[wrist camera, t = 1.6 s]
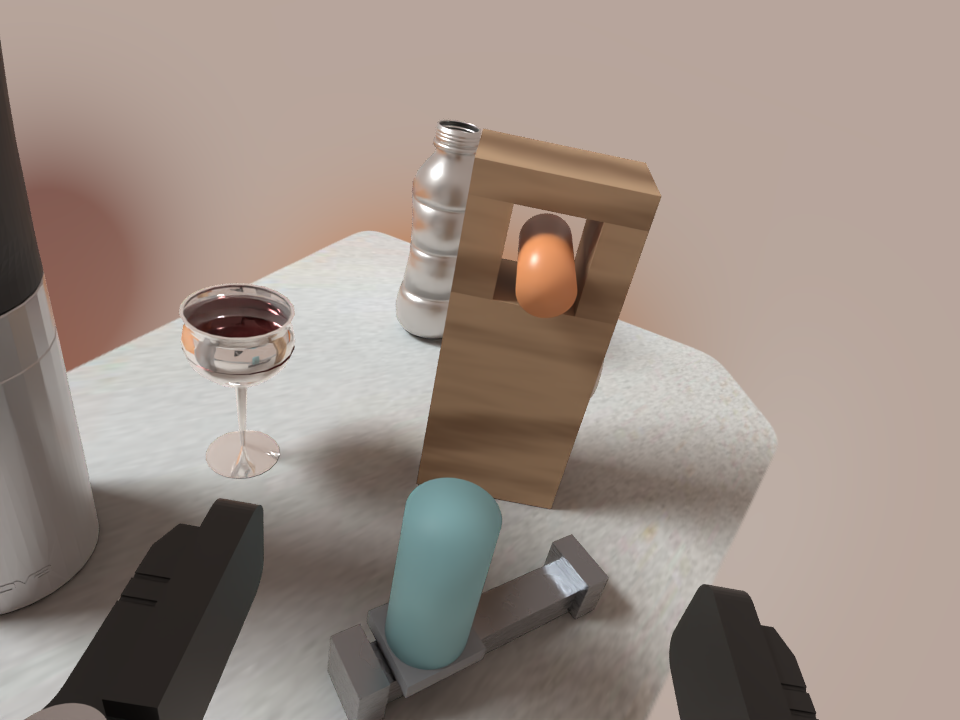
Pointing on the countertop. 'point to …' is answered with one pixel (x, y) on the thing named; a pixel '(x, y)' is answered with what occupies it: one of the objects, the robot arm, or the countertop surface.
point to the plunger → (546, 267)
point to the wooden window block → (530, 318)
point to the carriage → (437, 583)
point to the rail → (473, 625)
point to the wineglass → (238, 361)
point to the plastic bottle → (437, 228)
